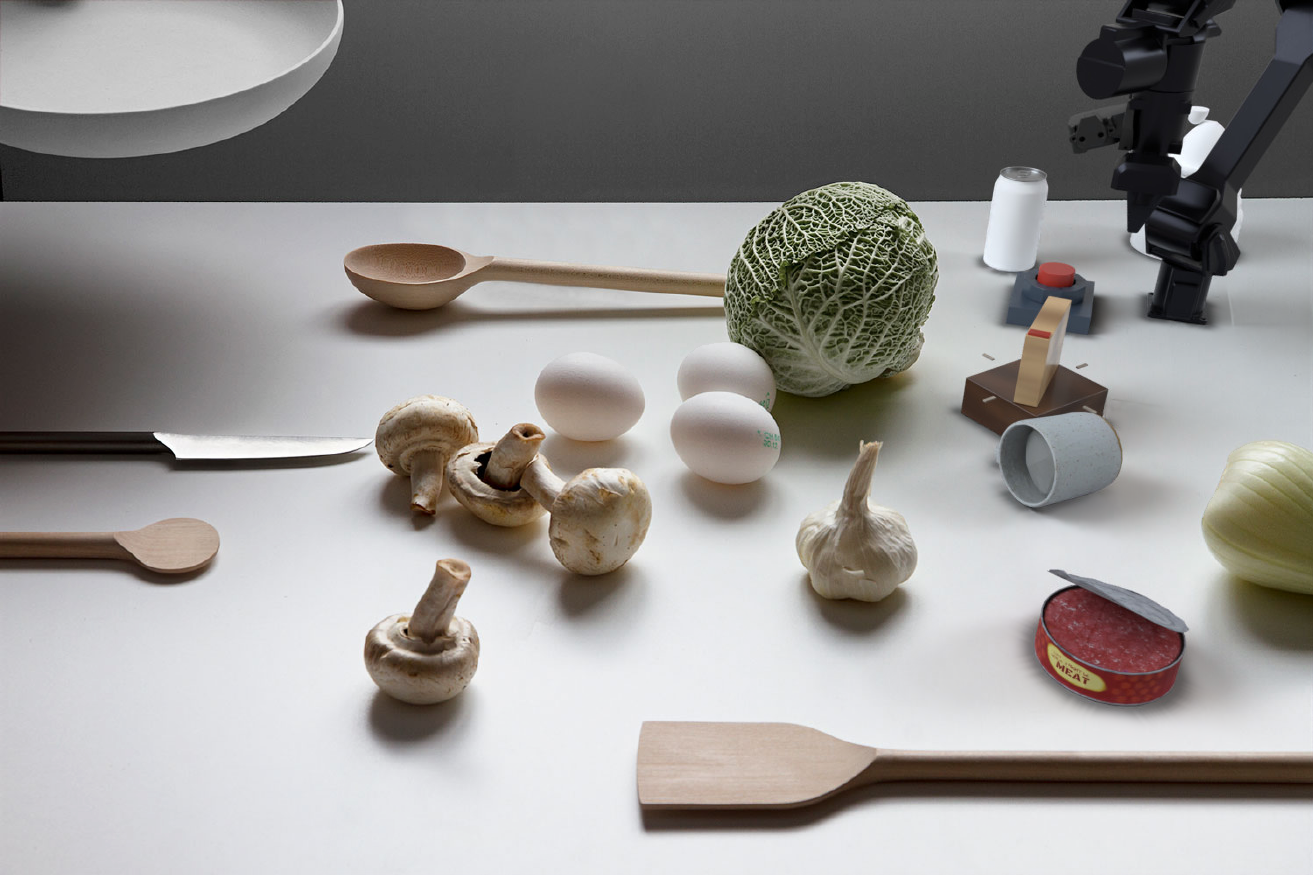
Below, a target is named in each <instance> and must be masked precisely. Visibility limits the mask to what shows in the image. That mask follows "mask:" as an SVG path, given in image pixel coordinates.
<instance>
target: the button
mask: <svg viewBox="0 0 1313 875" xmlns="http://www.w3.org/2000/svg"><path fill="white" fill-rule="evenodd" d="M1038 269H1039V273H1038V278H1037V281H1038V282H1039V283H1041V284H1044V285H1046V286H1051V287H1058V288H1062V287H1071V286H1072V285H1073V282H1074V277H1075V273H1076V271H1077V270H1076V269H1075V268H1074V267H1073V266H1072V265H1070V264H1067V263H1063V262H1058V261H1048V262H1044V263H1041V264H1040V265H1039V268H1038Z"/></svg>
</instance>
